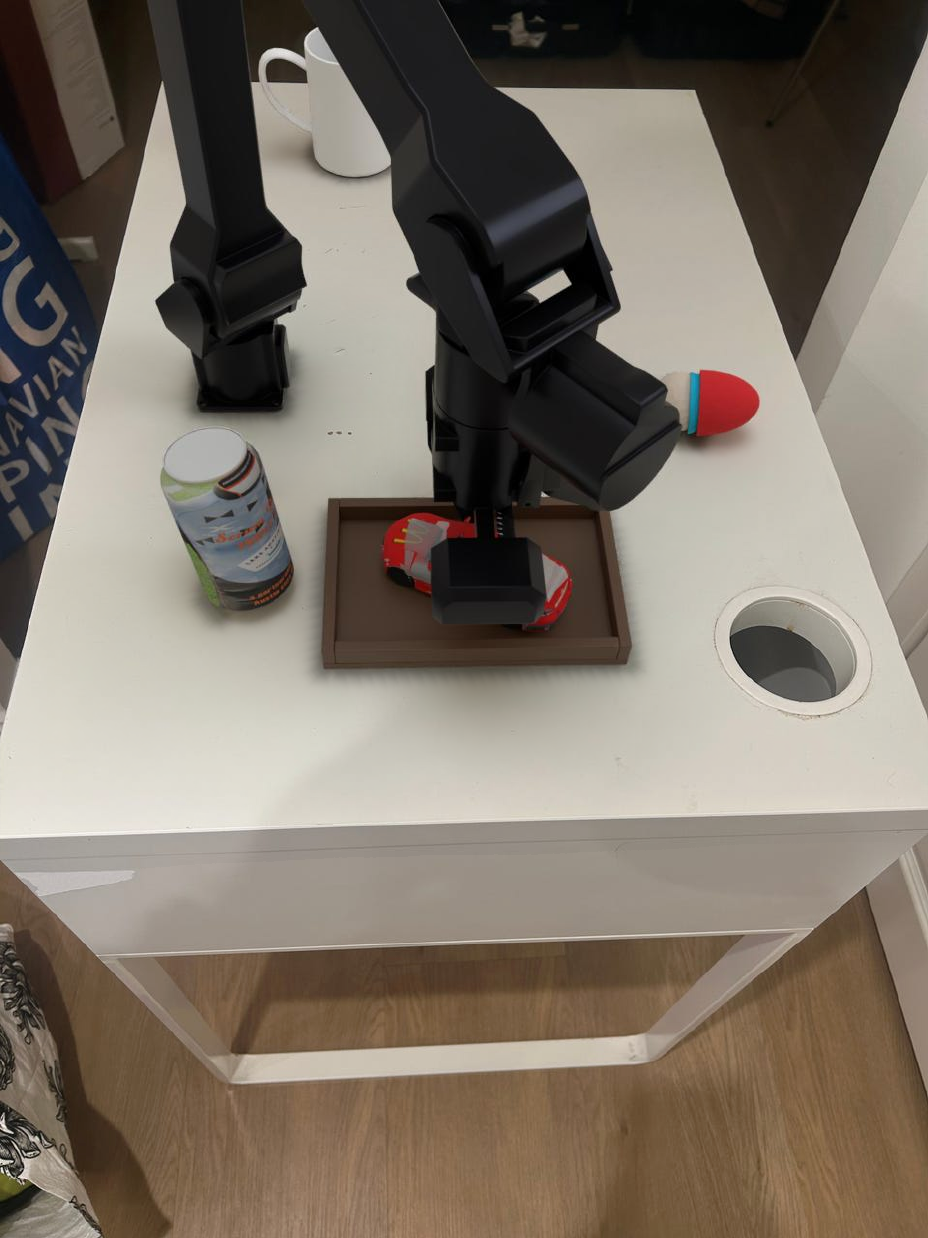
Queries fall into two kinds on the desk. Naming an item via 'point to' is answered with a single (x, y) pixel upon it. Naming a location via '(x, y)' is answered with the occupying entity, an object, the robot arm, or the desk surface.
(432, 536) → the race car
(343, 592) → the tray
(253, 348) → the robot arm
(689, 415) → the toy figure
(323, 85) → the mug
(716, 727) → the desk surface
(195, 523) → the beverage can
